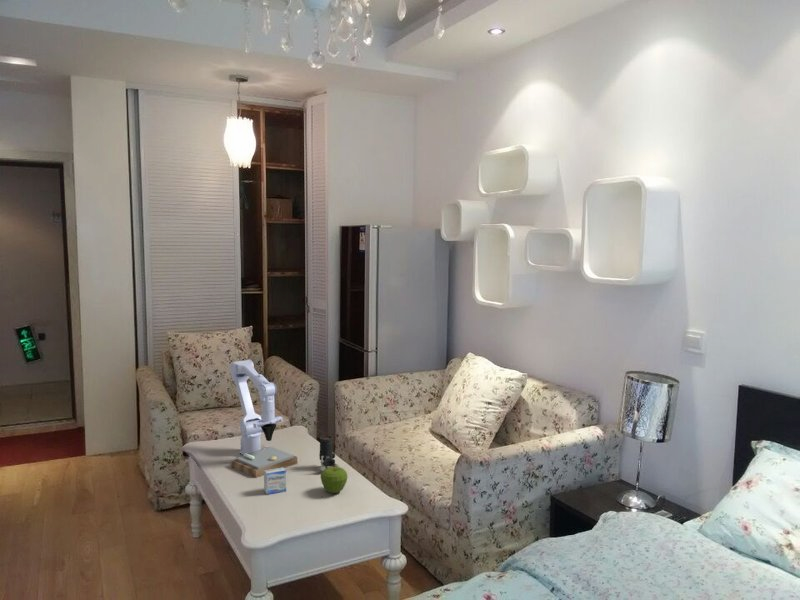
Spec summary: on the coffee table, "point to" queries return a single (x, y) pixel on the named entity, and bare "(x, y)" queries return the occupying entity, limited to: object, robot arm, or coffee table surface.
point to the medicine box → (274, 480)
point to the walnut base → (260, 472)
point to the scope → (326, 453)
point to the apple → (334, 479)
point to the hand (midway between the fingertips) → (268, 440)
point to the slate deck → (264, 457)
